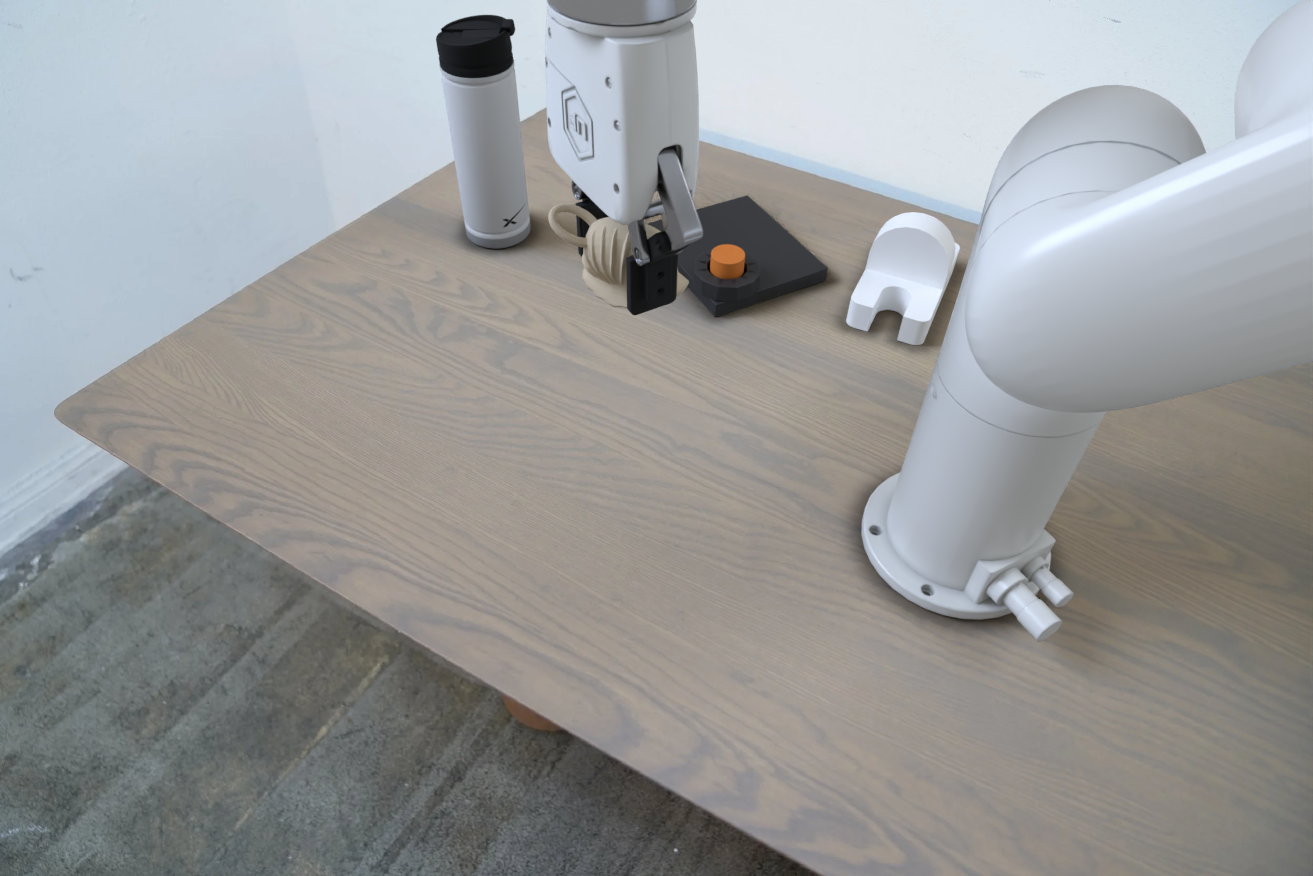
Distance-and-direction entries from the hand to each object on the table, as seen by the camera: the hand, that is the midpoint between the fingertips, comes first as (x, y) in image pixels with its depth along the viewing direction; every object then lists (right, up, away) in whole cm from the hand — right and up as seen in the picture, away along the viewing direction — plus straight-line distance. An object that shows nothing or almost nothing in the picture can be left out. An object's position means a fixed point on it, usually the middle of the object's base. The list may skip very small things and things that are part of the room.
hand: (626, 276), depth 57 cm
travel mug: (-13, +10, +31) cm, 35 cm away
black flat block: (+9, +7, +29) cm, 31 cm away
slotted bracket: (+24, +3, +25) cm, 35 cm away
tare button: (+8, +5, +23) cm, 25 cm away
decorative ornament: (0, -1, +1) cm, 1 cm away
